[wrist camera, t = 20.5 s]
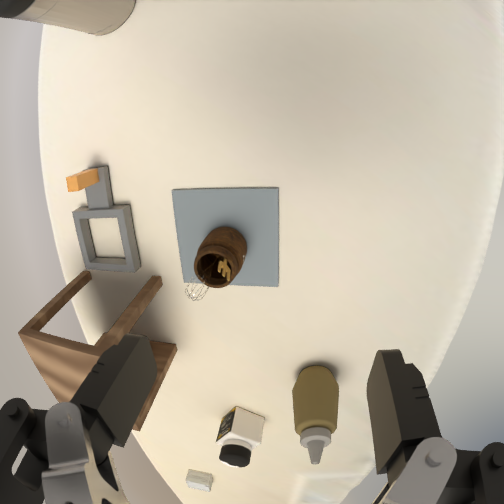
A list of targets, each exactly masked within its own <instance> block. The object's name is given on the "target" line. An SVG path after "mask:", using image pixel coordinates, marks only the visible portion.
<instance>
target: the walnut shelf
mask: <svg viewBox="0 0 504 504" xmlns="http://www.w3.org/2000/svg"><path fill="white" fill-rule="evenodd" d="M90 280H91V276H90V272H89V271H83V272H82V273H80V274H79V275H78V276H77V277H76V278H75V279H74V280H72V281H71V282H70V283H69V284H68V285H67V286H66V287H65V288H64V289H63V290H61V291H60V292H59V293H58V294H57V295H56V296H55V297H54V298H53V299H52V300H51V301H50V302H49V303H47V304H46V305H45V307H43V308H42V309H41V310H40V311H39V312H38V313H37V314H36V315H35V316H34V317H33V318H32V319H31V320H30V321H29V322H28V323H27V324H26V325H25V326H24V327H23V328H22V329H21V330H20V331H19V332H18V334H19V336H20V338H21V340H22V342H23V344H24V346H25V348H26V349H27V351H28V353H29V355H30V357H31V358H32V360H33V362H34V364H35V365H36V367H37V369H38V370H39V372H40V374H41V375H42V377H43V379H44V380H45V382H46V383H47V385H48V387H49V388H50V390H51V391H52V393H53V394H54V396H55V397H56V399H57V400H58V402H59V403H61V402H70V400H71V399H72V397H73V396H74V394H75V393H76V391H77V390H78V388H79V387H80V385H81V384H82V382H83V381H84V380H85V378H86V377H87V375H88V374H89V372H91V369H92V368H93V366H94V365H95V364H97V361H98V359H99V358H100V356H101V355H102V353H103V352H104V351H106V350H107V349H108V348H110V347H111V346H112V345H114V344H115V345H118V344H119V342H120V341H121V339H122V338H123V336H124V335H125V334H127V333H129V331H130V330H131V329H132V327H133V326H134V324H135V323H136V321H137V320H138V318H139V317H140V316H141V314H142V313H143V311H144V310H145V309H146V307H147V306H148V304H149V303H150V302H151V300H152V299H153V297H154V296H155V295H156V293H157V292H158V290H159V289H160V288H161V286H162V280H161V277H160V276H152V277H151V278H150V280H149V281H148V282H147V283H146V284H145V286H144V287H143V288H142V289H141V291H140V292H139V293H138V294H137V296H136V297H135V298H134V299H133V301H132V302H131V303H130V305H129V306H128V307H127V308H126V310H125V311H124V312H123V313H122V315H121V316H120V317H119V319H118V320H117V321H116V323H115V324H114V325H113V326H112V328H111V329H110V330H109V332H108V333H103V335H102V336H101V337H100V339H99V340H98V341H97V342H96V344H95V345H94V346H93V345H89V344H84V343H80V342H76V341H72V340H68V339H65V338H61V337H57V336H53V335H50V334H46V333H43V332H40V330H41V329H42V327H44V326H45V324H46V323H47V322H48V321H49V320H50V319H51V318H52V317H53V316H54V315H55V314H56V313H57V312H58V311H59V310H60V309H61V308H62V307H63V306H64V305H65V304H66V303H67V302H68V301H69V300H70V299H71V298H72V297H73V296H74V295H75V294H76V293H77V292H78V291H79V290H80V289H81V288H82V287H84V286H85V285H86V284H87V283H88V282H89V281H90ZM149 342H150V346H151V349H152V352H153V355H154V358H155V361H156V364H157V377H156V380H155V382H154V384H153V386H152V388H151V391H150V393H149V395H148V397H147V399H146V401H145V403H144V405H143V407H142V409H141V411H140V413H139V416H138V418H137V420H136V422H135V424H134V426H133V428H132V429H133V430H137V431H140V430H141V428H142V425H143V423H144V421H145V419H146V417H147V414H148V412H149V410H150V408H151V406H152V403H153V401H154V399H155V397H156V395H157V393H158V390H159V388H160V386H161V384H162V382H163V380H164V378H165V375H166V373H167V371H168V369H169V367H170V365H171V363H172V361H173V358H174V356H175V354H176V352H177V347H176V344H170V343H162V342H155V341H149Z"/></svg>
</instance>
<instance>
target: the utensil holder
mask: <svg viewBox="0 0 504 504" xmlns="http://www.w3.org/2000/svg"><path fill="white" fill-rule="evenodd" d="M246 254H247V243H246V240H245V238H244V237H243V235H242V234H241V233H240V232H239V231H237V230H236V229H234V228H231V227H218V228H216V229H214V230H212V231H211V232H210V233H209V234H208V235H207V236H206V237H205V239H204V240H203V242H202V243H201V245H200V246H199V248H198V251H197V255H196V257H195V261H194V272H195V275H196V276H197V278H198V279H199V280H200V281H201V282H202V283H203V284H205V285H207V286H208V288H209V287H213V288H222V287H225V286H227V285H229V284H230V283H231V282H232V281H233V280H234V278H235V277H236V275H237V274H238V273H239V272H240V270H241V268H242V266H243V263H244V261H245V258H246ZM195 278H196V277H195ZM195 278H194V279H195ZM191 279H192V278H191ZM194 279H193V280H194ZM193 280H192V281H193ZM196 280H197V279H196ZM196 280H195V281H196ZM192 281H191V282H192ZM189 282H190V281H189ZM191 282H190V283H191ZM194 283H195V282H194ZM198 283H199V282H198ZM198 283H197V284H198ZM188 284H189V283H188ZM203 284H202V285H203ZM193 285H194V284H193ZM187 286H189V285H187ZM192 287H193V286H192ZM195 287H196V286H195ZM195 287H194V288H195ZM203 287H204V286H203ZM200 288H201V287H200ZM208 288H207V290H208ZM186 289H187V288H186ZM202 289H203V288H202ZM193 290H194V289H193ZM193 290H192V289H191V293H192V291H193ZM201 291H202V290H201ZM187 292H188V290H187ZM197 292H198V291H197ZM197 292H196V293H197ZM205 292H207V291H205ZM185 293H186V291H185ZM191 293H190V294H191ZM196 293H195V294H196ZM200 293H201V292H200ZM188 294H189V293H188ZM195 294H194V295H195ZM205 294H206V293H205ZM186 295H187V294H186ZM194 295H193V296H194ZM187 296H188V295H187ZM198 296H199V295H198ZM201 296H202V295H201ZM189 297H190V295H189ZM189 297H188V298H189ZM199 297H200V296H199ZM203 297H204V296H203ZM203 297H202V298H203ZM190 298H191V299H192V297H190ZM194 298H196V297H193V299H194ZM196 299H197V298H196ZM196 299H195V300H196ZM195 300H193V301H195ZM200 300H201V299H200Z"/></svg>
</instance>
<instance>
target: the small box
mask: <svg viewBox="0 0 504 504" xmlns="http://www.w3.org/2000/svg"><path fill="white" fill-rule="evenodd" d="M186 482H187V485H188V487H189V488H194V489H199V490H203V491H208V492H210V490H211V487H212V483H213V479H212V474H210V473H205V472H200V471H196V470H191V469H189V471H188V474H187V478H186Z"/></svg>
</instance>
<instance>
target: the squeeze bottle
mask: <svg viewBox="0 0 504 504" xmlns="http://www.w3.org/2000/svg"><path fill="white" fill-rule="evenodd" d="M292 394H293V408H294V423H295V431H296V433H297V434H299V435H300V443H301V445H302V446H303V447H305V448H308V451H309V455H310V460H311V464H319V462H320V459H321V455H322V451H323V448H324V447H326V446H328V445H329V444H330V443H331V434H332V433H334V431H335V430H336V429H337V416H338V399H339V386H338V383H337V382H336V380H335V378H334V376H333V375H332V373H331V372H330V370H329V369H327V368H325V367H323V366H310V367H308V368H305V369H304V370H303V371H302V372H301V373H300V375H299V377H298V379H297V381H296V383H295V385H294V387H293V390H292Z"/></svg>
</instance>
